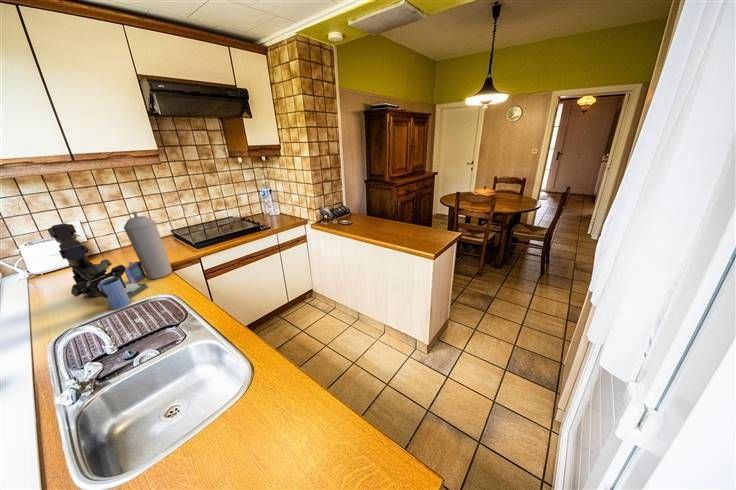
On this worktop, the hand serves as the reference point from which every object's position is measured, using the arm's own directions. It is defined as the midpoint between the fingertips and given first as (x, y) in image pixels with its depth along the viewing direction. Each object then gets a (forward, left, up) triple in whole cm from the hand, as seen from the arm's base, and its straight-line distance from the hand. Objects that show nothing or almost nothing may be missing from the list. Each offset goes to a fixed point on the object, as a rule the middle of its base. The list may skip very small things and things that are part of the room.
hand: (116, 292), depth 116 cm
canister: (-5, +27, -7) cm, 28 cm away
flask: (-14, +22, -7) cm, 26 cm away
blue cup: (-1, 0, -7) cm, 7 cm away
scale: (-7, +10, -7) cm, 14 cm away
